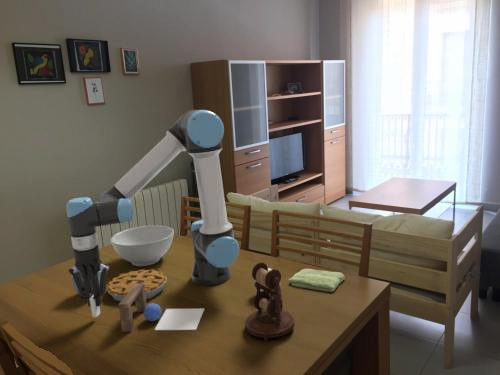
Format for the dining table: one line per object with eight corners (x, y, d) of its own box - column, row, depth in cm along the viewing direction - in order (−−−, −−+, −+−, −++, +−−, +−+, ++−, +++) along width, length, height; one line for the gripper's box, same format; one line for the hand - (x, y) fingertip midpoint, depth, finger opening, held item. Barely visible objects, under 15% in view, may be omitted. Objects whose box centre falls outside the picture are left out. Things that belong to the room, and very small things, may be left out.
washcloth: (302, 272, 170) (301, 265, 170) (346, 280, 161) (345, 272, 160) (287, 286, 159) (286, 278, 159) (333, 295, 150) (333, 286, 150)
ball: (151, 317, 144) (166, 312, 143) (145, 326, 139) (161, 321, 138) (144, 302, 143) (159, 298, 142) (138, 311, 138) (154, 306, 137)
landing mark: (204, 308, 146) (204, 308, 146) (195, 329, 133) (195, 329, 133) (166, 309, 147) (166, 309, 147) (154, 330, 135) (154, 329, 135)
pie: (119, 279, 175) (117, 268, 174) (173, 276, 174) (171, 265, 173) (99, 305, 154) (97, 292, 153) (160, 302, 153) (158, 289, 152)
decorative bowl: (129, 250, 208) (126, 225, 205) (183, 249, 204) (181, 224, 201) (103, 273, 182) (99, 246, 180) (165, 273, 178) (161, 244, 175)
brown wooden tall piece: (304, 330, 129) (301, 266, 125) (263, 348, 121) (258, 281, 117) (275, 311, 141) (271, 252, 137) (236, 326, 133) (230, 265, 129)
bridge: (147, 308, 149) (144, 283, 147) (131, 331, 135) (127, 304, 133) (138, 308, 149) (135, 283, 147) (122, 331, 135) (118, 304, 133)
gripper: (59, 251, 135) (71, 321, 140) (100, 250, 134) (110, 320, 139) (72, 243, 142) (82, 309, 147) (110, 242, 141) (120, 309, 146)
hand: (96, 314), depth 143 cm, fingers closed
